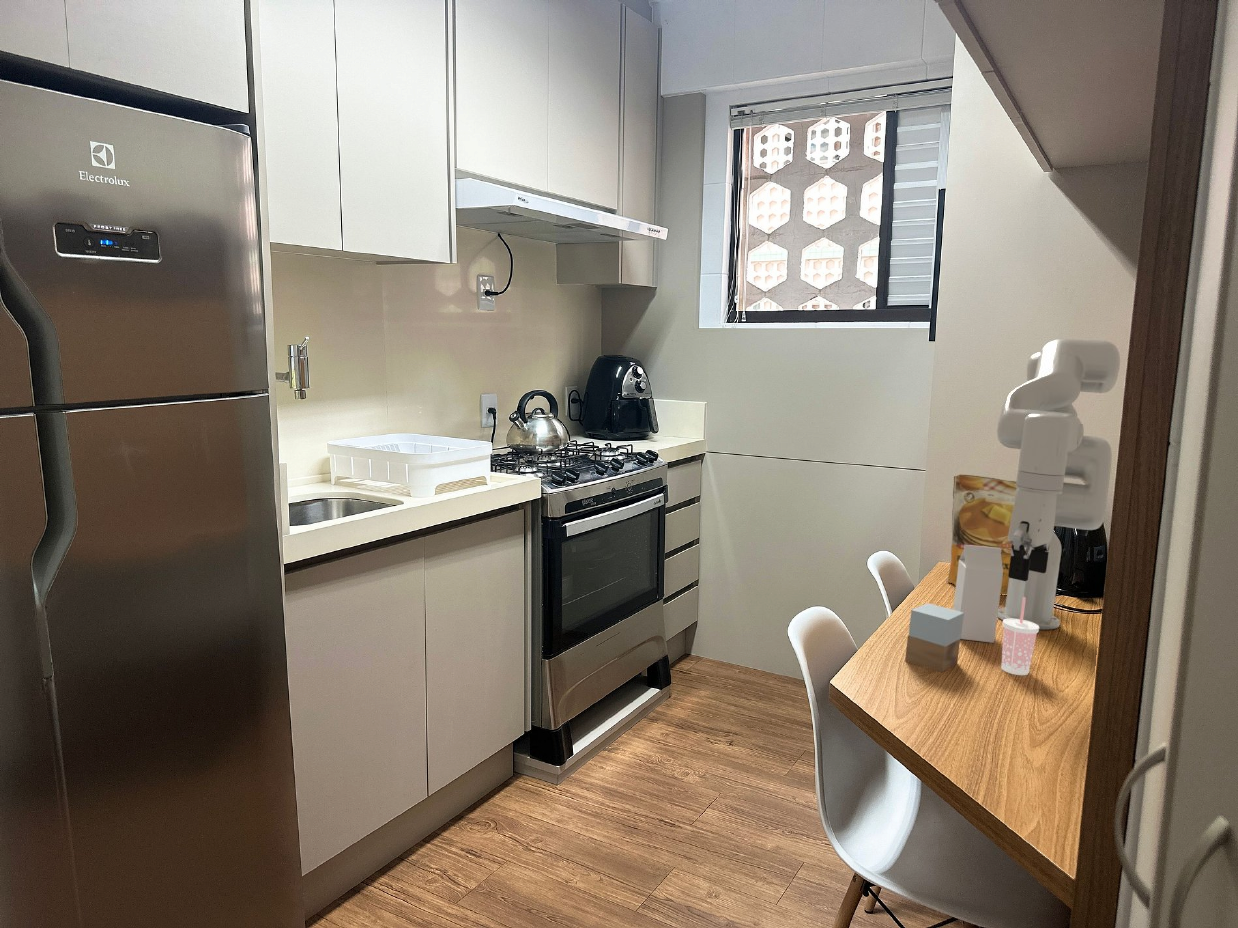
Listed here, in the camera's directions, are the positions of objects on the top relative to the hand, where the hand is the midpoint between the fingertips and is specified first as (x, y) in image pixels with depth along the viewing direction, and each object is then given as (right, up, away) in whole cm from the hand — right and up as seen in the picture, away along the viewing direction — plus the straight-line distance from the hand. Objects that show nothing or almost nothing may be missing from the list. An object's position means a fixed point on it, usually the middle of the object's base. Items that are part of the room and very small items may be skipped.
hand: (1027, 575), depth 152 cm
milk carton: (-1, -16, +21) cm, 26 cm away
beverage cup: (-1, -18, +3) cm, 19 cm away
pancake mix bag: (+17, -11, +58) cm, 61 cm away
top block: (-15, -12, +4) cm, 20 cm away
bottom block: (-16, -17, +5) cm, 24 cm away
